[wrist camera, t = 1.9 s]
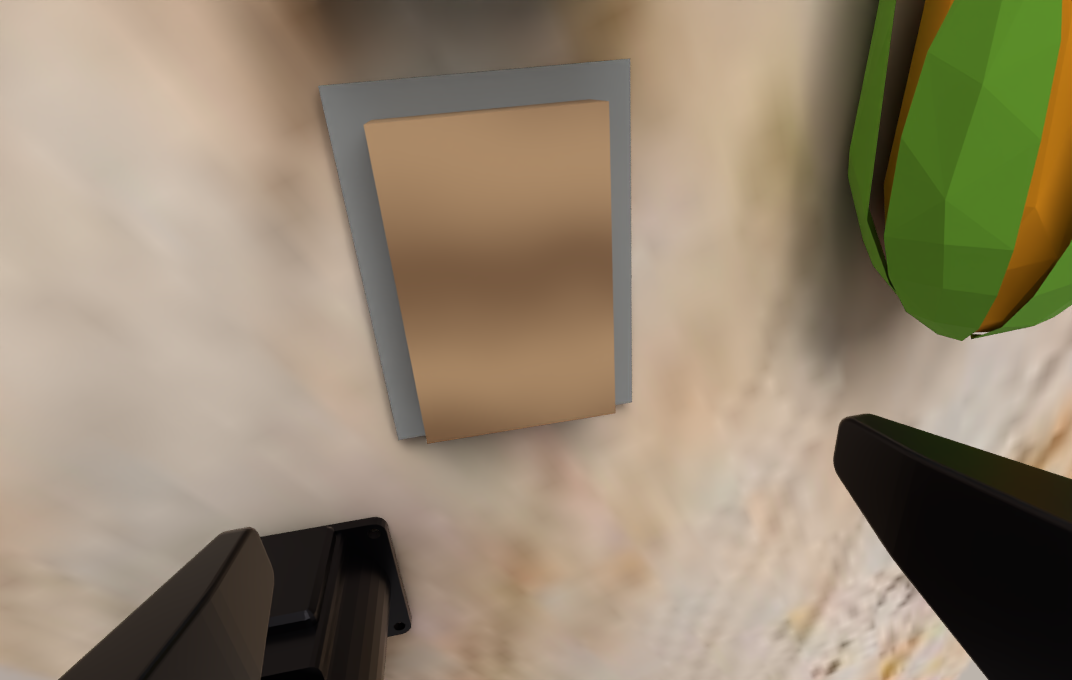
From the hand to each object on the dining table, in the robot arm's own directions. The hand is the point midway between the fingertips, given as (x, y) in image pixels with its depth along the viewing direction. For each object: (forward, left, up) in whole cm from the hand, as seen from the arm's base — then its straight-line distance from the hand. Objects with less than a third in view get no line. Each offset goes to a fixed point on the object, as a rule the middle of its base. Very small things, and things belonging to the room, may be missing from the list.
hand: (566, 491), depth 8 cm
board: (0, 0, -11) cm, 11 cm away
